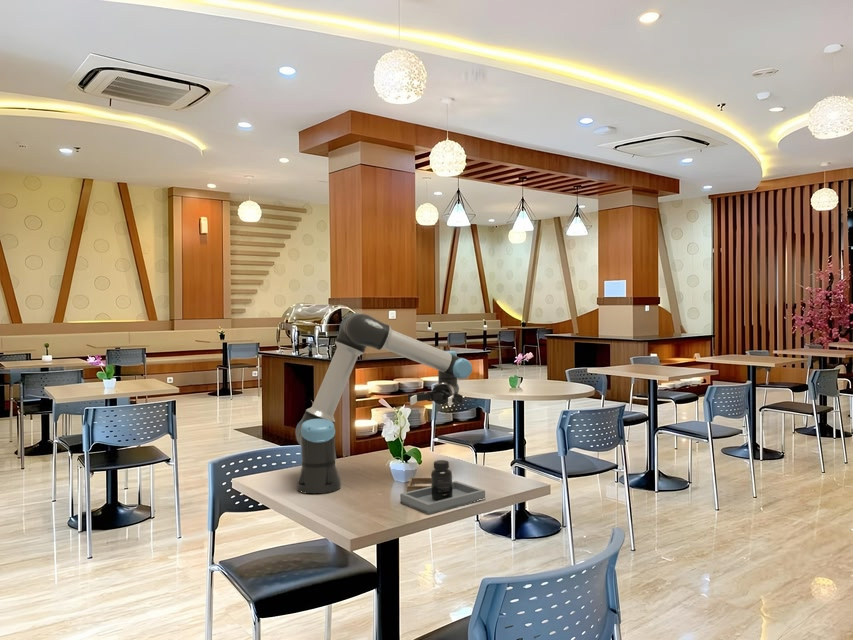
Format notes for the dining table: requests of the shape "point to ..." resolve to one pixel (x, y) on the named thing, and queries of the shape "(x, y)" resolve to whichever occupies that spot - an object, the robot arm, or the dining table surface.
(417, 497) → the parts tray
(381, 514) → the dining table surface
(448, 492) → the supplement bottle
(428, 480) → the square wooden tray
